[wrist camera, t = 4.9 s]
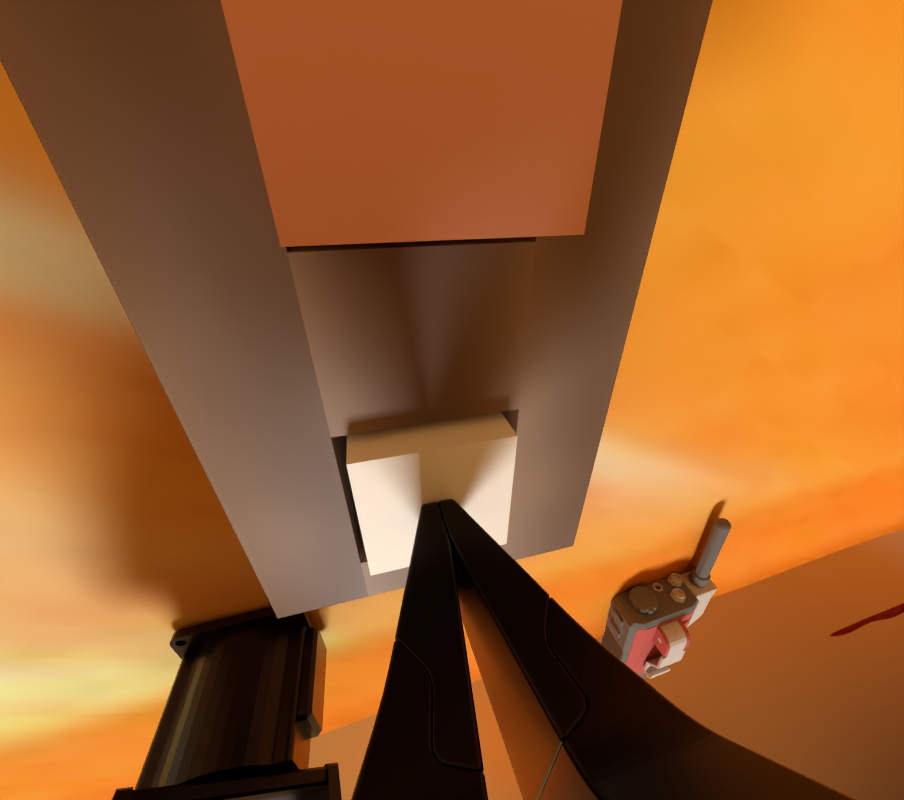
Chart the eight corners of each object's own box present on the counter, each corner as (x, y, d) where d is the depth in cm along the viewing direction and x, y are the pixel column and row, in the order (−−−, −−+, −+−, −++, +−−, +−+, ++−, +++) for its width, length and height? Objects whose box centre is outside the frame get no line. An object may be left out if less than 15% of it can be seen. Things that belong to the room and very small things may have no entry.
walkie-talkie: (667, 629, 37) (720, 502, 27) (703, 677, 33) (780, 552, 23) (594, 658, 36) (618, 536, 25) (622, 710, 32) (664, 594, 22)
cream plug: (364, 448, 14) (370, 575, 10) (348, 360, 12) (346, 464, 7) (456, 433, 15) (506, 544, 10) (456, 348, 13) (517, 436, 8)
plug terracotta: (318, 220, 9) (280, 247, 4) (277, -5, 7) (100, -495, 2) (467, 216, 10) (584, 234, 5) (469, 14, 8) (671, -302, 3)
